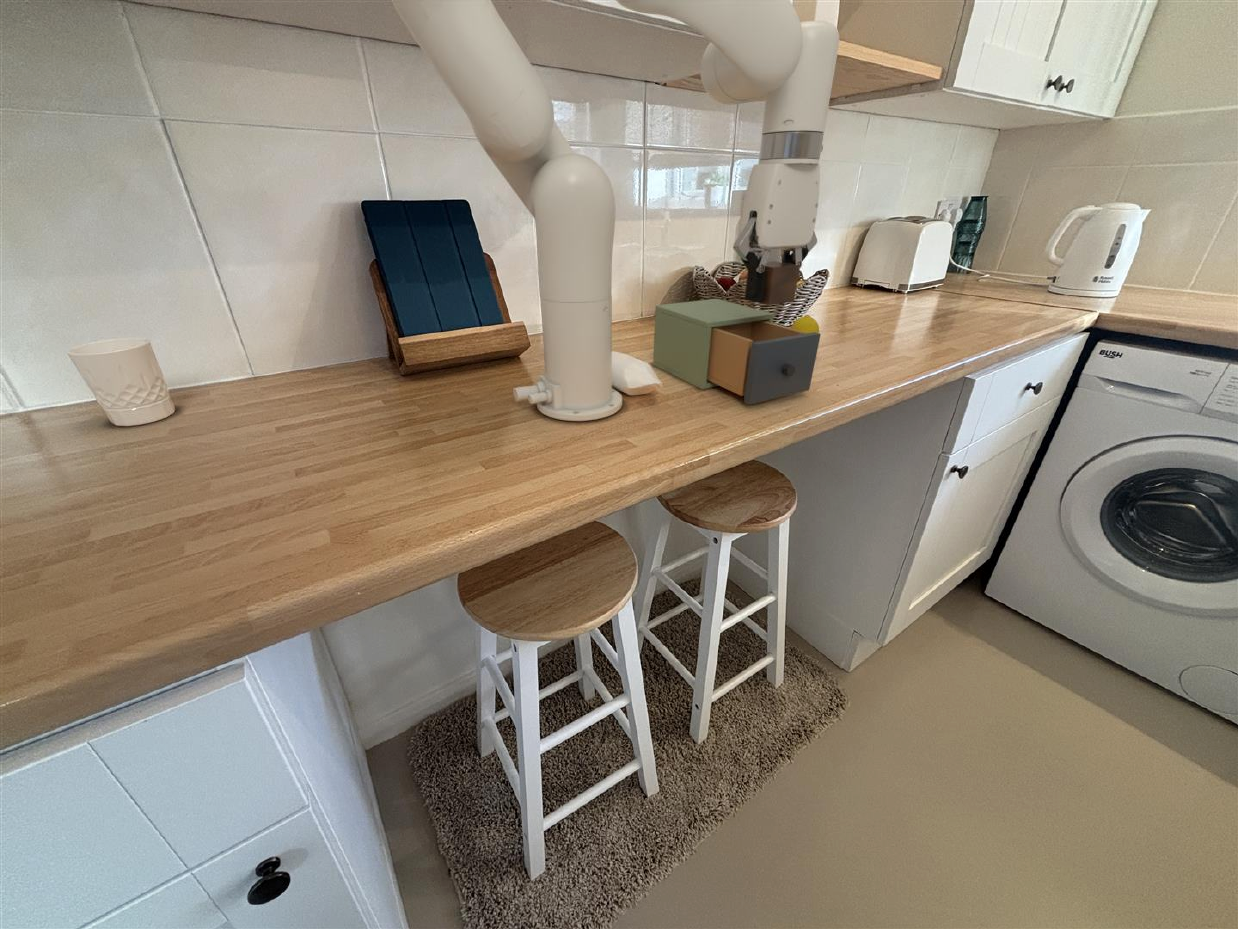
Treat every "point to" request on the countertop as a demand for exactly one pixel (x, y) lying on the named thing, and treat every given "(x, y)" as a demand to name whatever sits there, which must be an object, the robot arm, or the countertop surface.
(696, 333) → the cabinet
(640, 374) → the white pouch
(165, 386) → the white cup
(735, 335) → the drawer
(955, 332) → the countertop surface
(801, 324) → the lemon
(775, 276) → the block
